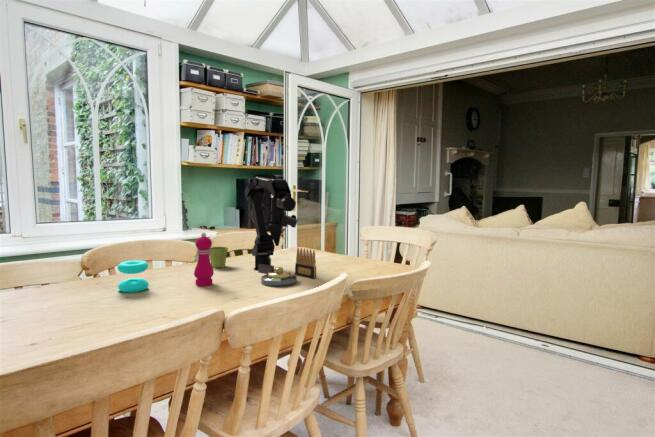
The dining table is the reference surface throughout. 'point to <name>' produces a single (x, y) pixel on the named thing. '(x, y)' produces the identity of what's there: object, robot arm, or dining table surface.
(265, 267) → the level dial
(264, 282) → the base
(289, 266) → the dining table surface
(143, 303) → the dining table surface
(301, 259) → the ammunition clip
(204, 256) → the pepper mill
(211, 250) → the plant pot
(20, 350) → the dining table surface
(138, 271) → the donuts
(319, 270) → the dining table surface
